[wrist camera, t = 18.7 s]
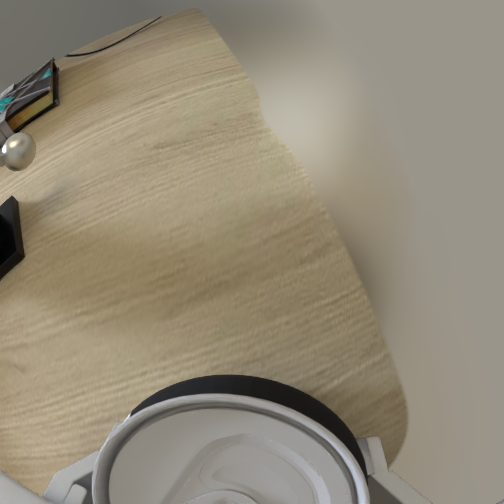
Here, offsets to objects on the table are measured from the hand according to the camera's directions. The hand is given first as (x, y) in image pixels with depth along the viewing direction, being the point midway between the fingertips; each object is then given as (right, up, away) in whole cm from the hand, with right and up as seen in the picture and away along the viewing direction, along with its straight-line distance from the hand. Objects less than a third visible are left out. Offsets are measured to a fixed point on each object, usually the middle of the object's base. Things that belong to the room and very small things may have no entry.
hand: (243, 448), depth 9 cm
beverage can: (0, -3, +6) cm, 7 cm away
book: (-40, +29, +24) cm, 54 cm away
